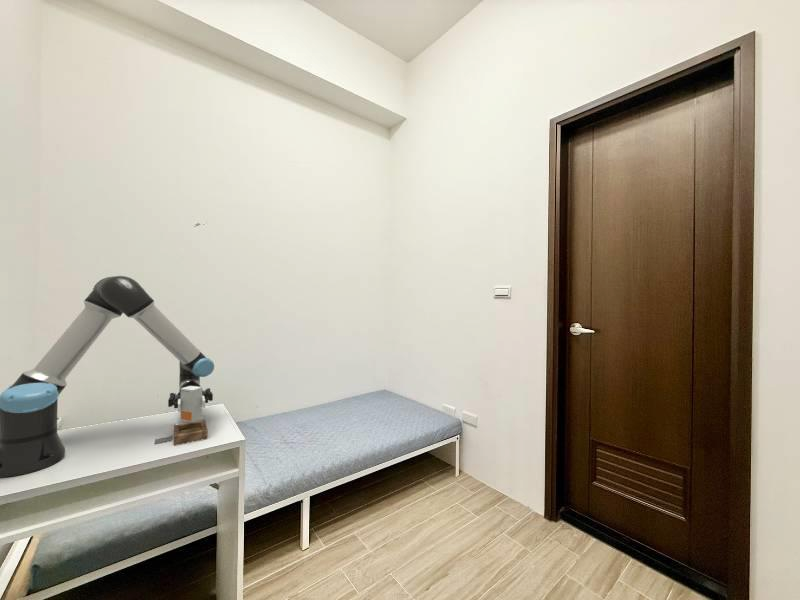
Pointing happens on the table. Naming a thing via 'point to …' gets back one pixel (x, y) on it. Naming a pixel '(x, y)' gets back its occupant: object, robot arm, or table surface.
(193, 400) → the skincare box
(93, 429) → the table surface
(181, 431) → the socket block
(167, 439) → the flat gray slab
